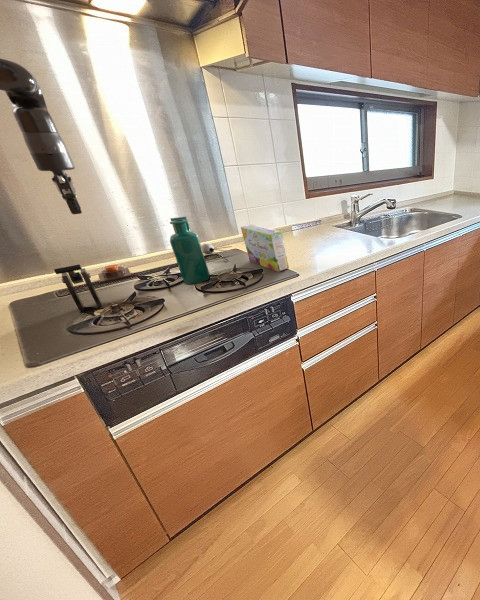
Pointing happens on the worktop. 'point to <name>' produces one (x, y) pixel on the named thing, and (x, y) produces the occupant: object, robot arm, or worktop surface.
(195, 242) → the green bottle
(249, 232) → the snack box
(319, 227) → the worktop surface
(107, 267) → the button
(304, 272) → the worktop surface
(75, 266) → the lever
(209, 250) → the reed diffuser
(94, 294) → the bracket
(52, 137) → the robot arm
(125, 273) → the button box
